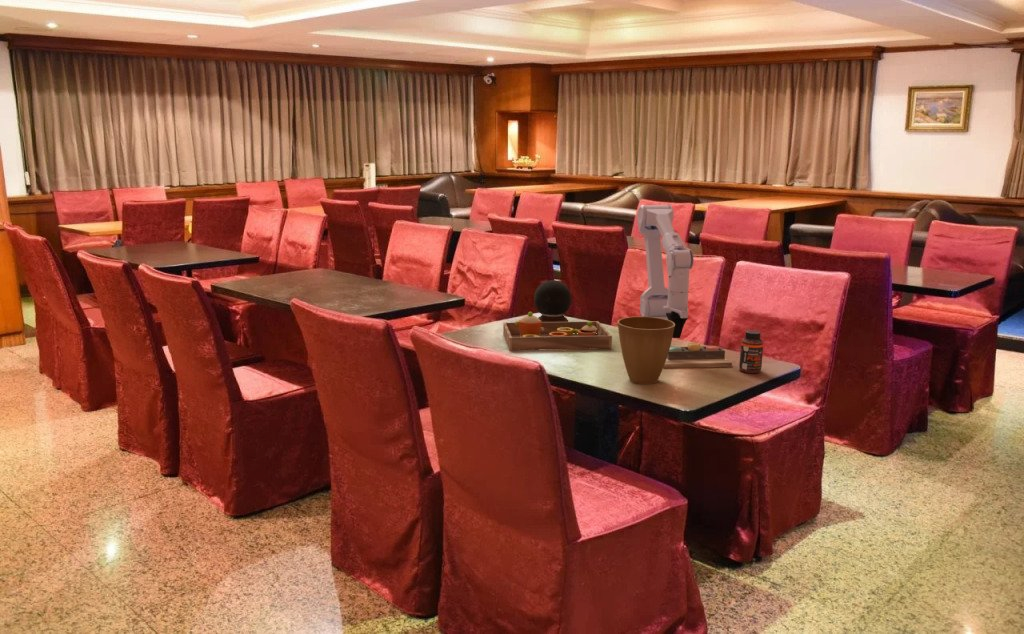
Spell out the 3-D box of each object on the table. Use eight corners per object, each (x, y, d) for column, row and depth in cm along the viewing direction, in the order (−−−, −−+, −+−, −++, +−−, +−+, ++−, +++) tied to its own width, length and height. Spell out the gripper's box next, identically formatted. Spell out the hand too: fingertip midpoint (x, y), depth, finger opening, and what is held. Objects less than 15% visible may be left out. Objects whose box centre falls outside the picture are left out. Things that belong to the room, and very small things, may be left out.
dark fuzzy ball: (533, 318, 302) (534, 277, 299) (570, 319, 301) (571, 277, 298) (533, 326, 289) (533, 283, 286) (571, 327, 288) (572, 283, 285)
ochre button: (685, 351, 246) (686, 342, 245) (697, 351, 246) (698, 342, 245) (689, 354, 242) (689, 345, 242) (701, 354, 242) (702, 345, 242)
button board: (650, 355, 250) (650, 343, 250) (715, 354, 252) (716, 342, 251) (662, 368, 237) (663, 355, 236) (731, 366, 239) (732, 354, 238)
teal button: (667, 354, 245) (667, 346, 245) (679, 354, 246) (679, 346, 245) (670, 358, 242) (671, 349, 241) (682, 357, 242) (683, 349, 242)
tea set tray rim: (503, 334, 276) (503, 322, 276) (597, 332, 279) (598, 321, 279) (509, 350, 255) (509, 337, 255) (611, 348, 258) (611, 336, 258)
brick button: (703, 354, 246) (704, 345, 246) (715, 353, 247) (716, 345, 246) (707, 357, 243) (708, 348, 242) (720, 357, 243) (720, 348, 243)
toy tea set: (520, 351, 256) (520, 320, 254) (509, 339, 271) (509, 310, 269) (602, 347, 262) (602, 317, 260) (587, 336, 276) (587, 307, 274)
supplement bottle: (746, 374, 230) (748, 334, 228) (735, 369, 236) (737, 330, 234) (765, 373, 232) (768, 333, 230) (753, 367, 238) (756, 328, 235)
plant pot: (604, 380, 224) (606, 321, 221) (638, 370, 234) (640, 314, 231) (649, 392, 214) (652, 331, 211) (683, 381, 224) (686, 322, 221)
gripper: (657, 287, 246) (655, 332, 249) (671, 296, 232) (669, 343, 235) (681, 286, 247) (678, 331, 250) (696, 295, 233) (693, 343, 236)
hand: (675, 337), depth 243 cm, fingers closed
